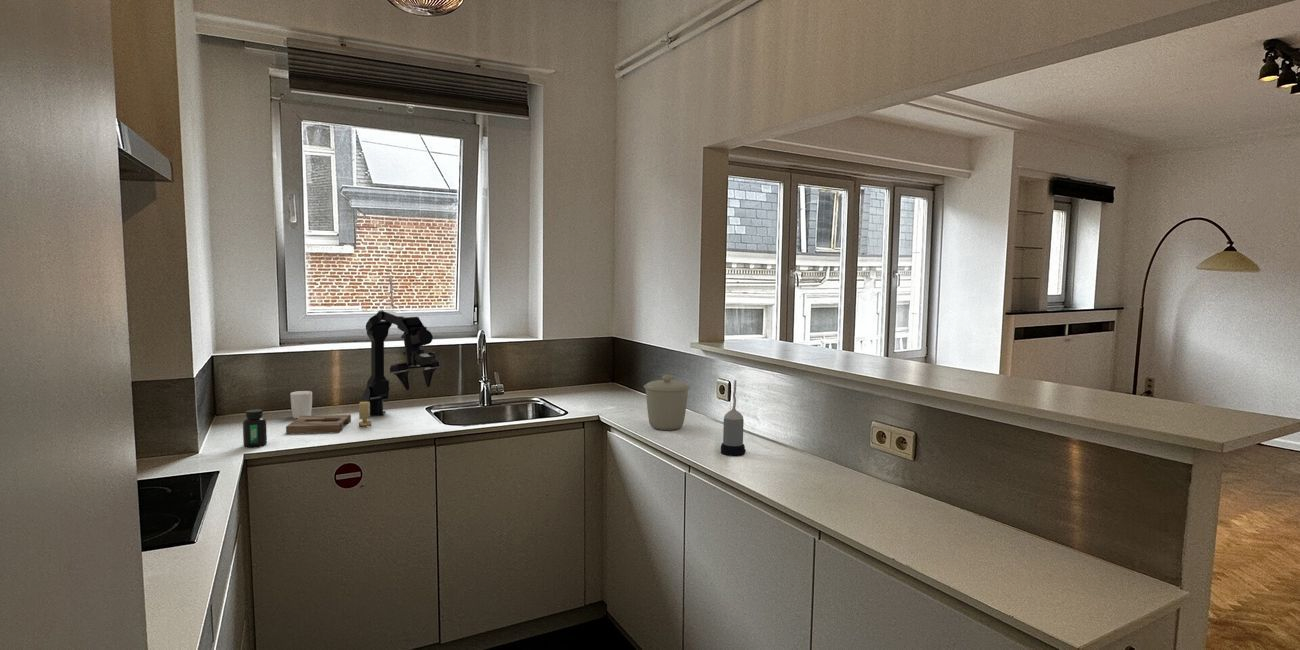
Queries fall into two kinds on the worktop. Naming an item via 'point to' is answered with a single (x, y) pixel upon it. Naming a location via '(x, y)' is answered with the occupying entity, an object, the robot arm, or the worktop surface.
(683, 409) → the canister
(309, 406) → the white cup
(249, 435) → the supplement bottle
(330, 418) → the keyhole plate
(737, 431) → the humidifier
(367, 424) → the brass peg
